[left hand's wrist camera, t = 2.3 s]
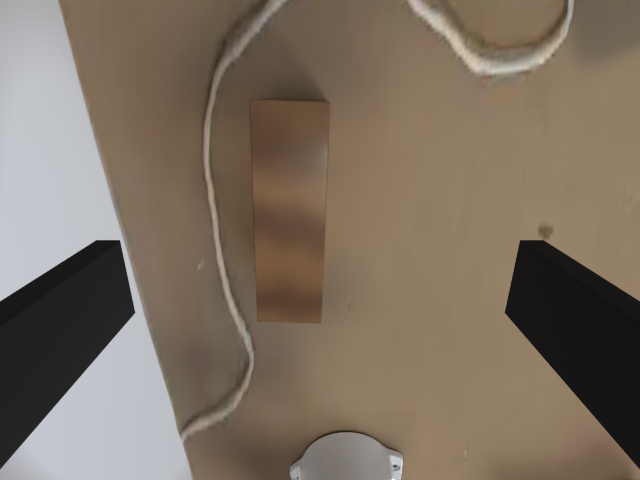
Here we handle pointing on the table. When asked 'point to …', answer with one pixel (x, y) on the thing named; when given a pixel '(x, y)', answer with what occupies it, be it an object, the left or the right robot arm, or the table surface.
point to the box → (289, 206)
